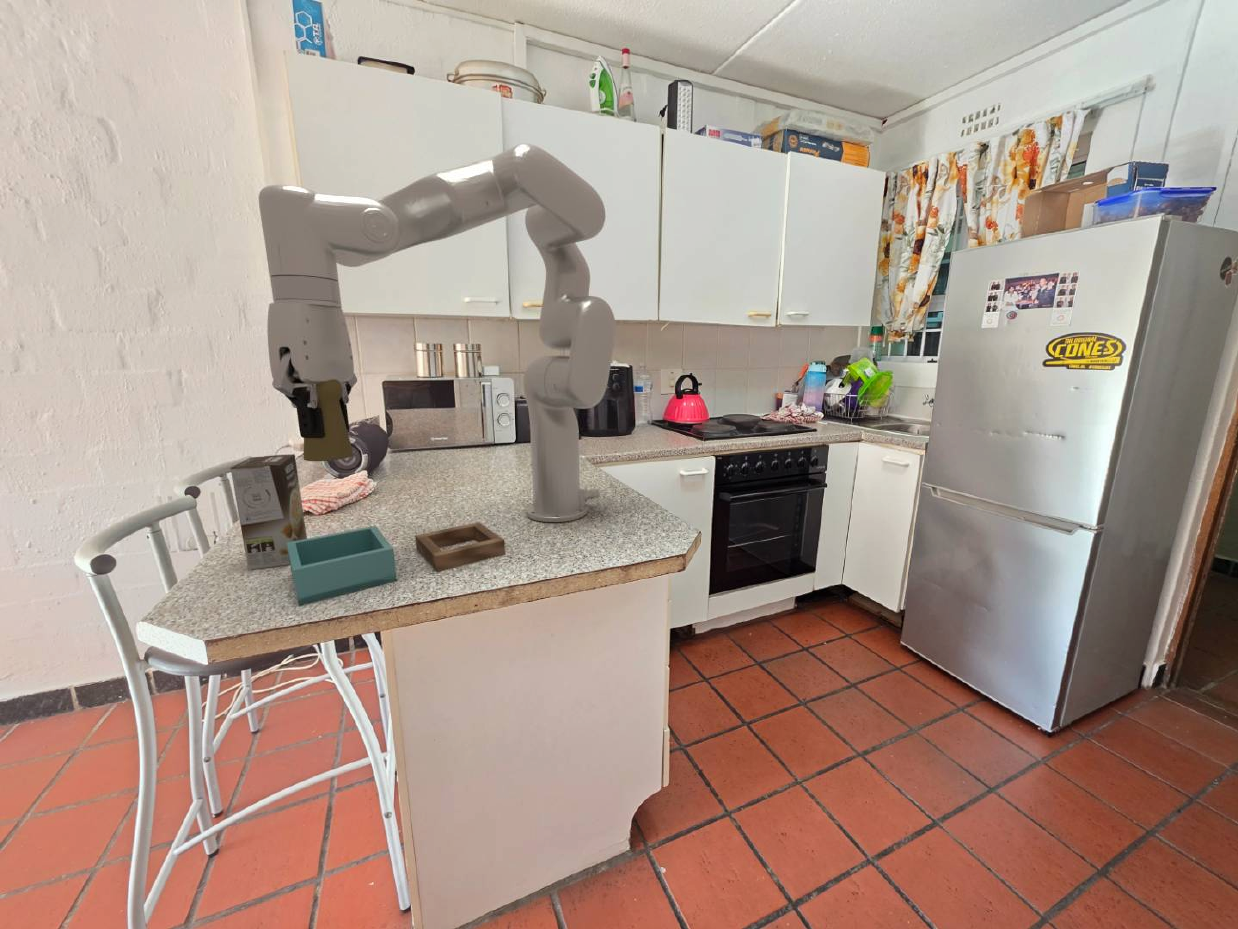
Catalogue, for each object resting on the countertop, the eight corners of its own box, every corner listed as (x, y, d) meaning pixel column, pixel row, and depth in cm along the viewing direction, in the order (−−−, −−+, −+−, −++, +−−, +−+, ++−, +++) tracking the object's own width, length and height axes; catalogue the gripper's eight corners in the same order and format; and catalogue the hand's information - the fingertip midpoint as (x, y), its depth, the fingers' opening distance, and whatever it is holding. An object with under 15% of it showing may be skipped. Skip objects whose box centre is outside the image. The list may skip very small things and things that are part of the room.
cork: (356, 458, 67) (346, 376, 64) (304, 463, 64) (291, 377, 61) (351, 451, 72) (342, 375, 69) (303, 455, 69) (291, 376, 66)
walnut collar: (479, 535, 88) (478, 522, 88) (505, 554, 80) (504, 540, 79) (416, 549, 82) (415, 535, 81) (436, 572, 73) (435, 556, 73)
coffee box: (296, 564, 76) (280, 464, 73) (247, 571, 74) (228, 468, 70) (309, 544, 84) (295, 453, 81) (265, 549, 82) (249, 456, 79)
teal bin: (379, 554, 80) (375, 525, 79) (396, 580, 70) (393, 548, 69) (291, 574, 73) (286, 542, 72) (298, 606, 63) (292, 570, 62)
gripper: (327, 302, 72) (343, 426, 76) (221, 286, 55) (248, 445, 59) (374, 301, 71) (387, 426, 75) (280, 285, 54) (304, 446, 58)
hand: (325, 433), depth 67 cm, fingers closed on cork, 4 cm apart
